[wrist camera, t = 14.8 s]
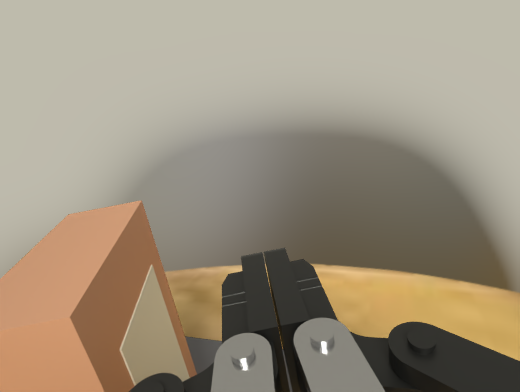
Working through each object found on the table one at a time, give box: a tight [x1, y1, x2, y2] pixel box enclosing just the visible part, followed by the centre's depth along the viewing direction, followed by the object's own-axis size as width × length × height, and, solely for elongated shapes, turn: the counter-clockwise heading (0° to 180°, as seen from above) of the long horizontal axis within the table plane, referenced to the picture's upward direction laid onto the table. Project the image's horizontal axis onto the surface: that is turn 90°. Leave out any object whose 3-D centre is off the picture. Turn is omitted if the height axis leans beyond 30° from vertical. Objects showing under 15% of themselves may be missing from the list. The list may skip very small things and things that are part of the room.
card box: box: [0, 201, 197, 392], centre depth 13 cm, size 3×7×12 cm, turn 6°
